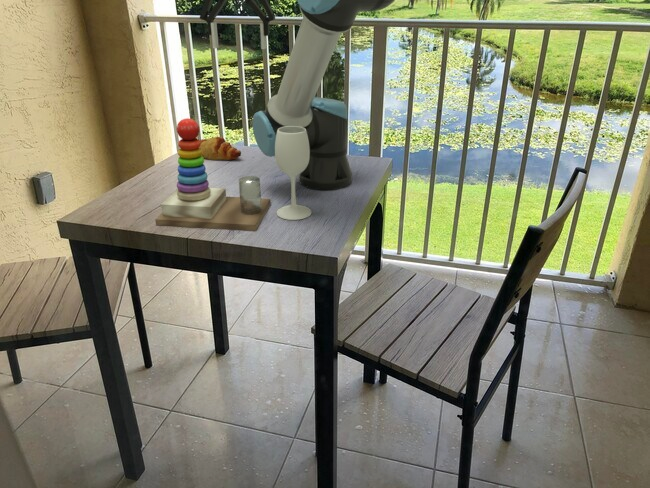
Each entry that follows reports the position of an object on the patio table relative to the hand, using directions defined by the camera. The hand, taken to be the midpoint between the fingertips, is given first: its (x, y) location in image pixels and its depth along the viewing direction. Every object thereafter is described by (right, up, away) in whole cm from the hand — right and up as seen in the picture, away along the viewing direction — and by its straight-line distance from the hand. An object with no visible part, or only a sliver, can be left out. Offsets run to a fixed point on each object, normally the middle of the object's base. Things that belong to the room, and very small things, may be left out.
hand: (239, 48), depth 141 cm
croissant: (-12, -25, +27) cm, 39 cm away
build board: (-3, -47, -15) cm, 49 cm away
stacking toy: (-8, -43, -17) cm, 46 cm away
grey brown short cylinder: (+6, -46, -17) cm, 49 cm away
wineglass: (+16, -47, -14) cm, 51 cm away
